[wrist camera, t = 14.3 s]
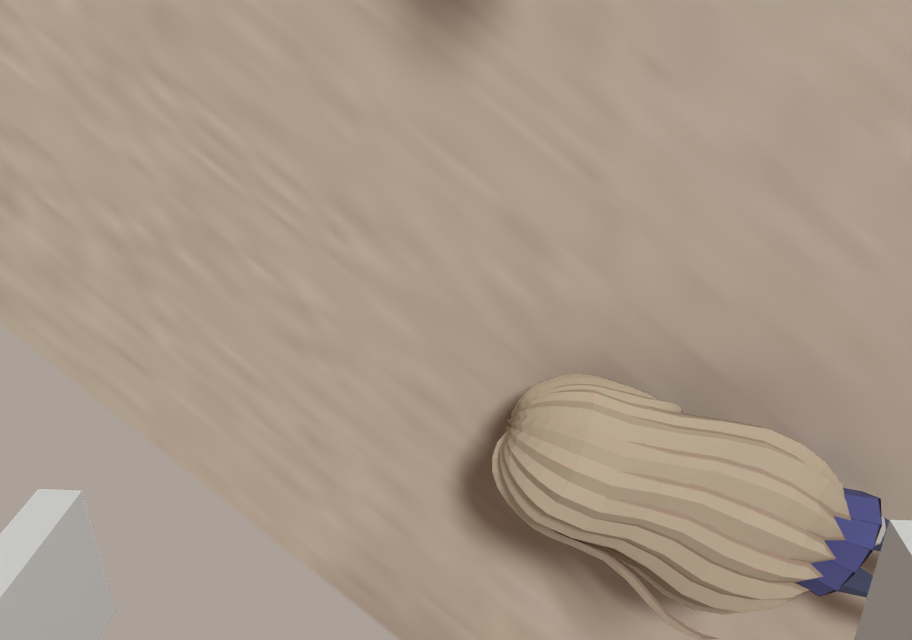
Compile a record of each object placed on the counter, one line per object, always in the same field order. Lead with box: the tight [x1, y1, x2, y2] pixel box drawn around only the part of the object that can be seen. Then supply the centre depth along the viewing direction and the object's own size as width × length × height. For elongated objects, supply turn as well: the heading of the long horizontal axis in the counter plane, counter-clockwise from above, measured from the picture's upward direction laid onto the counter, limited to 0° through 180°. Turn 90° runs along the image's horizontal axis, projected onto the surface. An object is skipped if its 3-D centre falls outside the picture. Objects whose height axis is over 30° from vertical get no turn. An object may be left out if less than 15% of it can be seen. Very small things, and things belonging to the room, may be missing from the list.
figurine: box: [492, 374, 889, 640], centre depth 43 cm, size 12×9×30 cm
